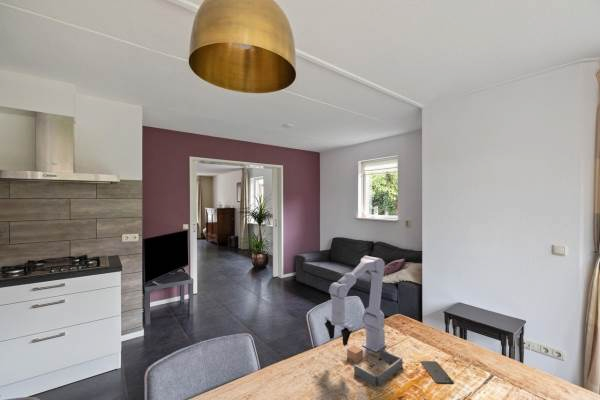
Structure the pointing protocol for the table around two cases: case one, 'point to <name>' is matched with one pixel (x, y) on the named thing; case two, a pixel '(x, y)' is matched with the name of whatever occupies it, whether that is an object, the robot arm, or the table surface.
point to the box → (384, 374)
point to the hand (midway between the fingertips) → (338, 341)
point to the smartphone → (437, 372)
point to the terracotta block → (354, 353)
